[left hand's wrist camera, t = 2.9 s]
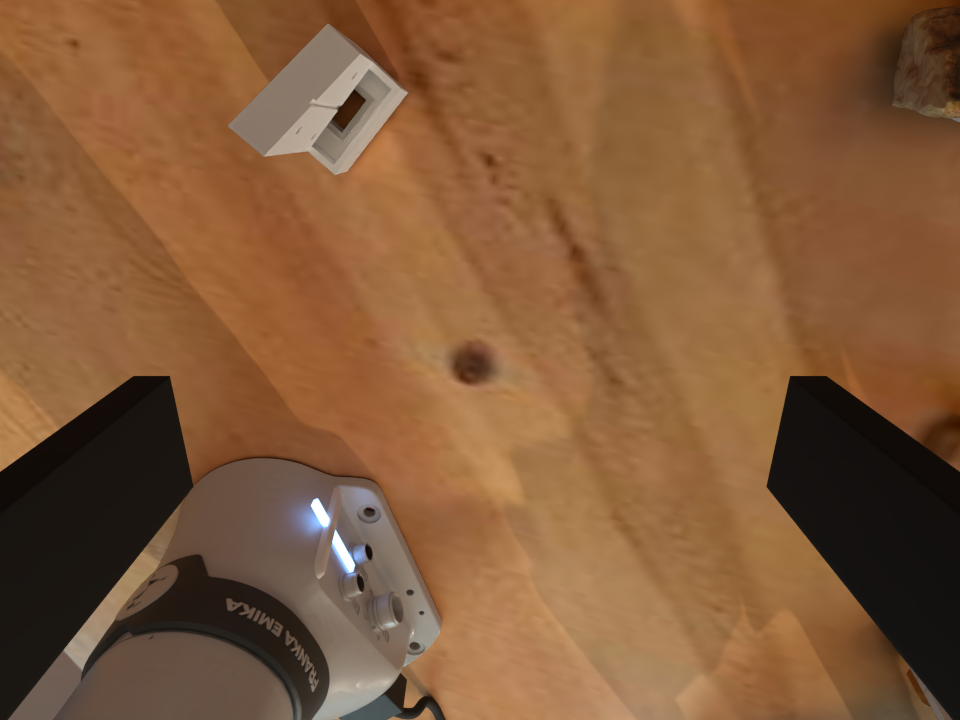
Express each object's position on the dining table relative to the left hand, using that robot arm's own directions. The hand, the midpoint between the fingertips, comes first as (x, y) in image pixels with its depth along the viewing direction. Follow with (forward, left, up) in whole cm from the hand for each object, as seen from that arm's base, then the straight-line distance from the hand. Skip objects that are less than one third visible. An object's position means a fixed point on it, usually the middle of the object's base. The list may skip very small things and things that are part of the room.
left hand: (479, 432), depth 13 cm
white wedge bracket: (-7, -7, -26) cm, 28 cm away
